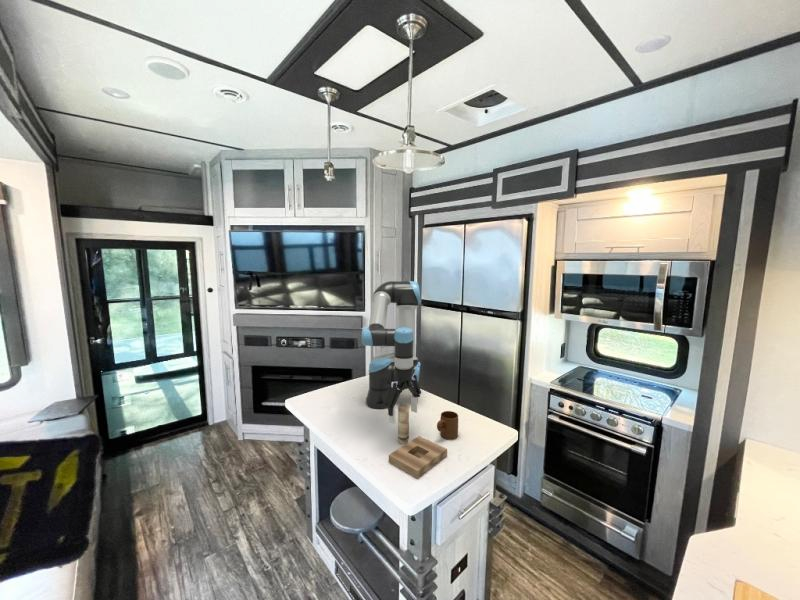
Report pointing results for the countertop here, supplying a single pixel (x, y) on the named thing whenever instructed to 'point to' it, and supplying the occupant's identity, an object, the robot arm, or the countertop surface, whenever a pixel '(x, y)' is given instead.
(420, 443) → the board
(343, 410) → the countertop surface
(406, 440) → the leg
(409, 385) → the robot arm
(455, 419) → the mug
